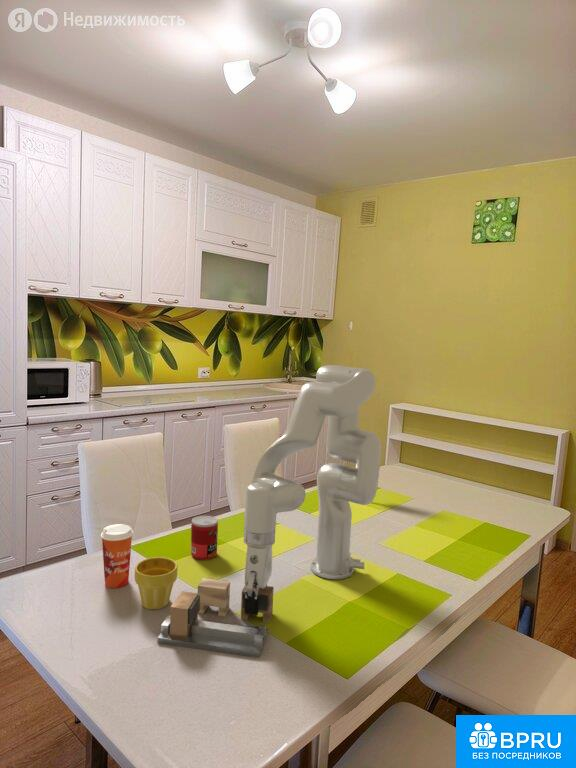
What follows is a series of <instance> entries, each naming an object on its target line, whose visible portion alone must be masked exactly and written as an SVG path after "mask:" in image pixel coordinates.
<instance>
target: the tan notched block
mask: <svg viewBox="0 0 576 768" xmlns="http://www.w3.org/2000/svg"><path fill="white" fill-rule="evenodd" d="M230 591H231V580H225V579H217V578H216V579H215V578H210V577H205V578H204V577H203V578H201V580H200V582H199V583H198V585H197V593H198V595H200V611H199V612H198V614H204V613H206V610H207V609H208V608H209V607H215V608H218V616H219V617H226V615H227V613H228V611H229V609H230V599H231V598H230V597H231V596H230V595H231V594H230V593H231V592H230Z"/></svg>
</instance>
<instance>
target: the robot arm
mask: <svg viewBox="0 0 576 768" xmlns="http://www.w3.org/2000/svg"><path fill="white" fill-rule="evenodd" d="M315 380H316V381H309V382H305V383H304V384H303V385H302V387H301V388H300V390H299V392H298V395H297V397H296V401H295V404H294V406H293V409H292V412H291V415H290V418H289V421H288V424H287V426H286V429H285V432H284V433H283V435H282V436H281V437H279V438H278V439H276V440H275V441H274V442H273V443H272V444H271V445H270V446H268V448H267V449H266V450H265V451H264V452H263V454H262V455H260V458H259V459H258V461H257V464H256V467H255V469H254V471H253V474H252V477H251V478H252V479H251V482H250V484H249V485H248V486H247V487H246V490H245V503H244V505H245V506H244V525H243V527H244V528H243V543H244V544H245V545H247V546H246V554H245V555H246V557H245V568H244V569H245V570H244V586H245V585H246V586H247V590H246V596H245V613H246V614H250V615H252V616H257V615H259V612H258V610H259V598H258V593H259V588H262V589H264V588H265V587H266V586H268V583H269V580H270V578H271V576H272V572H273V545H275V543H276V530H277V529H276V528H277V515H278V514H279V513H287V512H293V511H296V510H298V509H299V508H301V506H302V505H303V504H304V502H305V500H306V488H304V486H303V485H302V484H301V483H300V482H298V481H296V480H293V479H290V478H286V477H282V476H280V475H279V476H278V475H276V474H275V473H276V470H277V469H278V467H279V465H280V464H281V463H282V461H283V460H284V459H286V458H287V457H289V456H292V455H294V454H297V453H299V452H302V451H306V450H309V449H312V448H314V447H315V446H316V445H317V443H318V440H319V437H320V433H321V430H322V428H323V425H324V421H325V418H326V417H328V422H327V423H328V424H327V433H326V443H325V444H326V445H325V446H326V447H325V448H326V449H325V450H326V453H327V454H328V455H329V456H330V457H331V458H333V459H335V460H340V461H344V462H348V463H352V464H355V465H356V464H357V468H356V467H354V466H349V465H346V464H341V463H337V462H329V463H328V462H327V463H325V464H323V465H322V466H321V467H320V468H319V470H317V471H318V472H317V475H316V486H317V493H318V521H317V536H316V537H317V539H316V540H317V541H316V557H315V559H313V560H312V561H311V562H310V570H311V572H313V574H315V575H316V576H318V577H320V578H324V579H327V580H343V579H347V578H349V577H351V576H352V575H353V574H354V571H355V569H359V570H365V562H364V561H361V558H354V557H353V556H352V557H351V554H352V553H351V551H350V549H351V534H352V533H351V532H352V531H351V530H352V508H351V505H350V503H353V504H356V505H361V506H368V505H370V504H371V503H372V502H374V499H375V498H376V495H377V491H378V485H379V477H380V467H381V462H382V461H381V460H382V450H383V449H382V443H381V439H380V438H379V436H378V435H377V434H376V433H375V432H373V431H369V430H365V429H360V428H359V424H360V423H359V421H360V407H361V406H362V405H363V404H364V403H366V402H367V401H368V400H369V399H370V398H371V397H372V396H373V393H374V391H375V389H376V382H377V380H376V378H375V375H374V374H373V372H372V371H371V370H370V369H367V368H363V367H354V366H353V367H352V366H346V365H345V366H344V365H336V364H334V365H333V364H328V365H322V366H320V367H319V368H318V370H317V371H316V376H315ZM254 584H255V585H254ZM253 588H256V593H255V591H253Z"/></svg>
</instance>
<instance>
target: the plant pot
mask: <svg viewBox="0 0 576 768" xmlns="http://www.w3.org/2000/svg"><path fill="white" fill-rule="evenodd" d="M177 578H178V563H177V562H176V561H175V560H174V559H172V558H169V557H164V556H155V557H154V556H153V557H149V558H145V559H142V560H141V561H139V562H137V564H136V565H135V567H134V581H135V584H136V585H137V586H138V591H139V596H140V601H141V605H142V607H143V608H145V609H148V610H159V609H163V608H165V607H166V606H168V605H169V602H170V599H171V594H172V591H173V587H174V584H175V582H176V580H177Z"/></svg>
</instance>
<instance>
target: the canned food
mask: <svg viewBox="0 0 576 768" xmlns="http://www.w3.org/2000/svg"><path fill="white" fill-rule="evenodd" d="M218 521H219V519H217V517H215V516H212V515H198V516H194V517H192V519H191V527H190V528H191V529H190V530H191V531H190V554H191V557H192V558H193V559H196V560H198V561H207V560H212V559H214V558H215V557H216V556H217V554H218V553H217V552H218V538H219V537H218V532H219V530H218V527H219V522H218Z"/></svg>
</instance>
